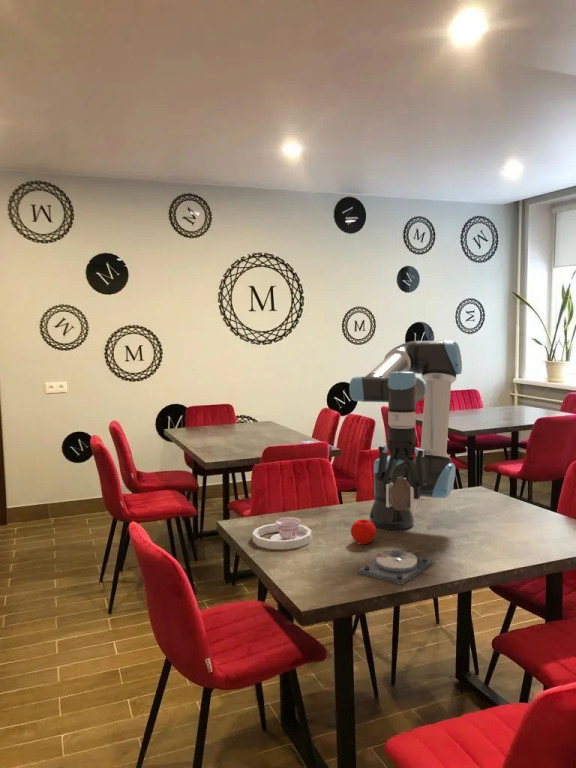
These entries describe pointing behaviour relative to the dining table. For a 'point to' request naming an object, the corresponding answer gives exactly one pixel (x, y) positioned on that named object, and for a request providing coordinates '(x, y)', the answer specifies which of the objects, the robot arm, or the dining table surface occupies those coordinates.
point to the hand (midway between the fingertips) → (401, 507)
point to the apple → (363, 531)
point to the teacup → (287, 529)
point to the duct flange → (395, 566)
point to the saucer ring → (281, 543)
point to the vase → (400, 494)
